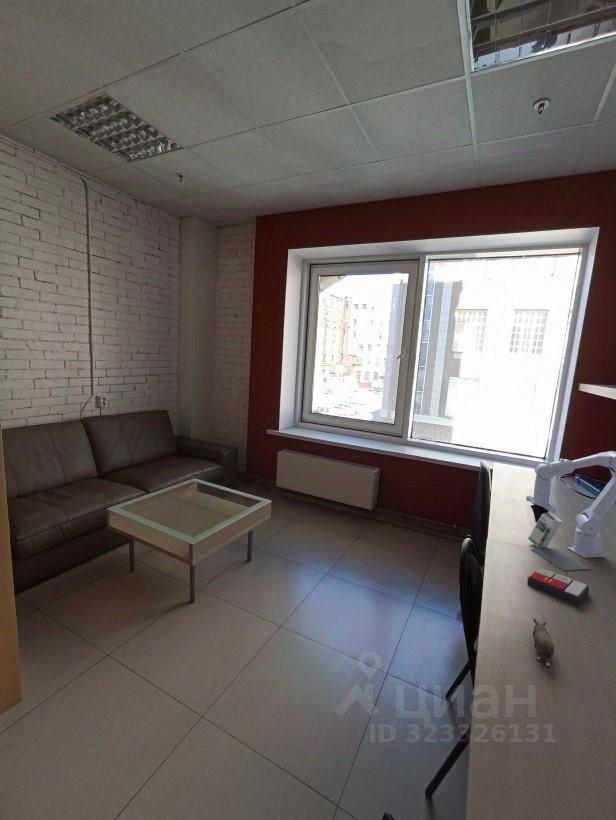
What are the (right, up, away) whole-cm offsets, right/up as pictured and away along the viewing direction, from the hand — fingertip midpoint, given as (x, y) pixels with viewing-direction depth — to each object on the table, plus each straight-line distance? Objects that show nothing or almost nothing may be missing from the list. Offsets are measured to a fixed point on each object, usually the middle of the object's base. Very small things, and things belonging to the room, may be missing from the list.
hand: (538, 522), depth 156 cm
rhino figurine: (-37, -16, -59) cm, 71 cm away
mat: (+1, -11, -11) cm, 16 cm away
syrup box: (0, -9, +1) cm, 9 cm away
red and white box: (-14, -14, -32) cm, 38 cm away
